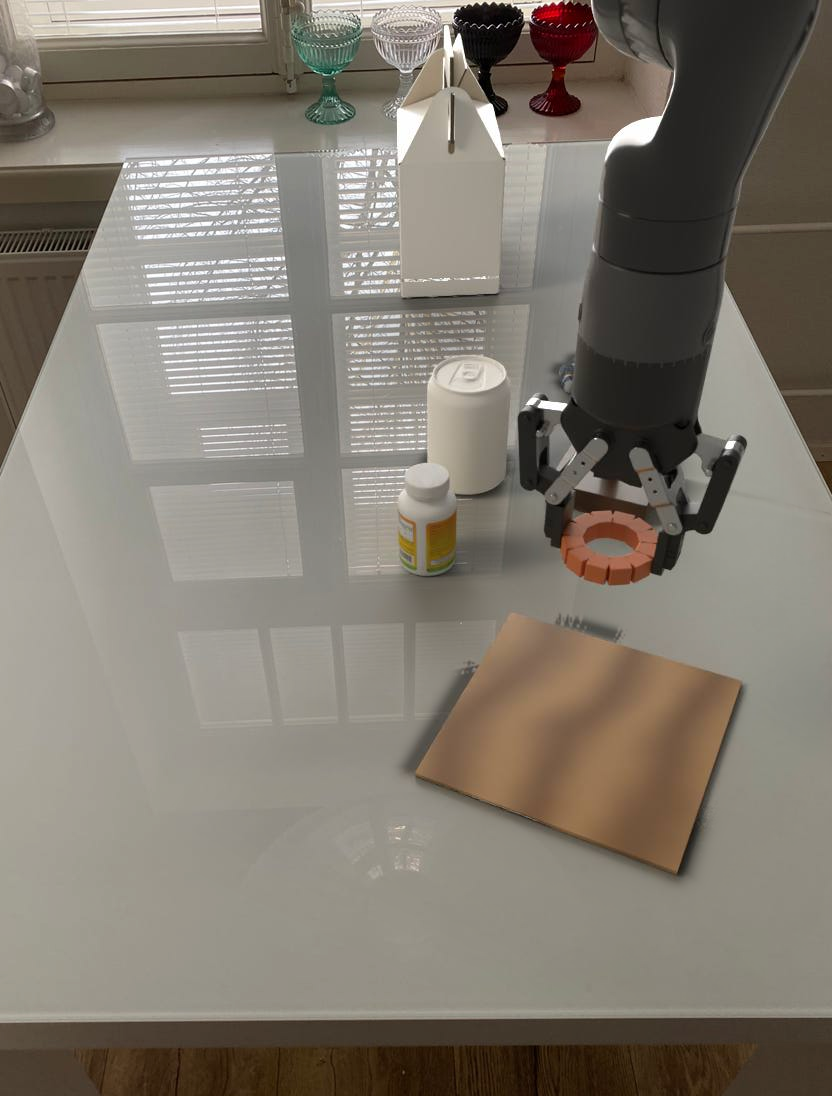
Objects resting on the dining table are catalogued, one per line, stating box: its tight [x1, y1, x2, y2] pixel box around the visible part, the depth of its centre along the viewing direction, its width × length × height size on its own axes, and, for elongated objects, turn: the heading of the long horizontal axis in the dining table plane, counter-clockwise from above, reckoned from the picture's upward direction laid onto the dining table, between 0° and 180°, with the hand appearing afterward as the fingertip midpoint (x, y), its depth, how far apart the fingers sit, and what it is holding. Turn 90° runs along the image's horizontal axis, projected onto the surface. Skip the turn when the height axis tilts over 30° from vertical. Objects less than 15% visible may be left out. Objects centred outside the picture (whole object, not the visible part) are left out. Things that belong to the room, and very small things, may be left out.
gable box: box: [396, 25, 507, 297], centre depth 132 cm, size 22×13×28 cm, turn 179°
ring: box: [559, 511, 659, 586], centre depth 67 cm, size 6×6×1 cm
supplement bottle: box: [397, 462, 458, 577], centre depth 91 cm, size 5×5×10 cm
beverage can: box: [426, 354, 512, 496], centre depth 100 cm, size 8×8×12 cm
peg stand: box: [544, 443, 654, 523], centre depth 98 cm, size 10×10×8 cm
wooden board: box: [414, 611, 743, 876], centre depth 78 cm, size 20×20×1 cm
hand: (608, 553), depth 68 cm, fingers closed on ring, 6 cm apart
